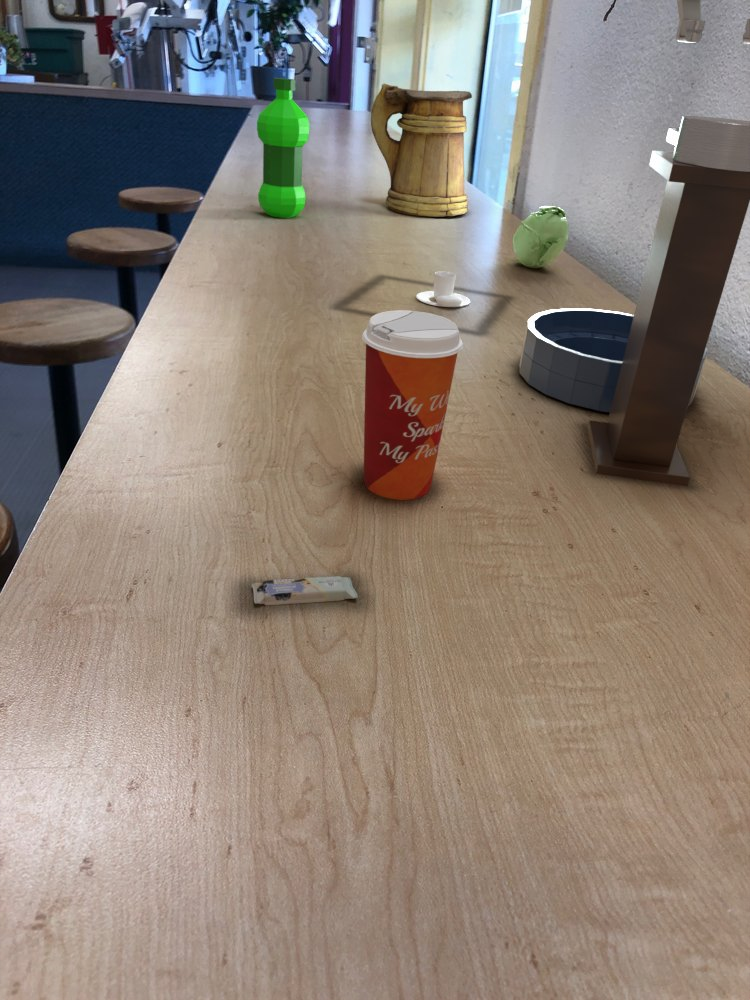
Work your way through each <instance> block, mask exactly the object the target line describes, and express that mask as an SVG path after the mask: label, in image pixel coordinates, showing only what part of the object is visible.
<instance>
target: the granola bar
mask: <svg viewBox="0 0 750 1000" xmlns="http://www.w3.org/2000/svg"><path fill="white" fill-rule="evenodd" d="M251 588H252V591H253V602H254V604H259V605H264V606H279V605H280V606H281V605H294V604H295V605H296V604H308V603H309V604H312V603H325V602H336V601H337V602H339V601H345V600H349V599H350V600H351V599H352V600H354V599H358V598H359V597H358V593H357V591H356V589H355V588H354V587H353V581H352V580H351V577H350V576H349V577H347V576H345V577H344V576H340V575H337V576H333V575H332V576H316V577H314V576H313V577H299V578H298V577H297V578H282V579H269V580H263V581H262V582H259V581H257V582H253V583H251Z"/></svg>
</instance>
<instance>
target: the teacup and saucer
mask: <svg viewBox="0 0 750 1000" xmlns="http://www.w3.org/2000/svg"><path fill="white" fill-rule="evenodd" d="M433 275H434V277H433V290H426V291H421V292H418V293H417V294H415V298H416V300H418V302H419V301H420V302H421V303H424V304H427V305H430V306H435V307H441V308H462V307H466V306H468V305H470V304H471V300H470V299H469V298H468V297H466V296H465V295H462V294H459V293H456V292H454V290H455V289H454V288H455V285H456V278H457V274H456V273H455V272H451V271H444V270H443V271H442V270H439V271H435V272H434V274H433ZM431 298H434V300H435V301H436V302H434V301H431V300H430V299H431Z"/></svg>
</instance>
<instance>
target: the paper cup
mask: <svg viewBox="0 0 750 1000" xmlns="http://www.w3.org/2000/svg"><path fill="white" fill-rule="evenodd" d="M361 338H362V341H363V342H364V343H365V372H364V373H365V375H364V376H365V377H364V422H363V423H364V425H363V426H364V427H363V429H364V430H363V483H364V486H365V487H366V488H367V489H368V490H369V491H370V492H371V493H373V494H375V495H377V496H380V497H383V498H386V499H391V500H400V501H401V500H402V501H403V500H404V501H406V500H414V499H418V498H421V497H424V496H425V495H426V494H428V492H429V491H430V490H431V486H432V482H433V478H434V473H435V468H436V464H437V460H438V454H439V449H440V444H441V440H442V434H443V429H444V425H445V419H446V415H447V410H448V409H447V408H448V404H449V399H450V395H451V389H452V383H453V379H454V373H455V368H456V363H457V359H458V353H460V352H461V351H462V350H463V348H464V343H463V340H462V338H461V337H460V330H459V328H458V325H457V324H456V323H455V322H454V321H453V320H451V319H448V318H446V317H444V316H441V315H439V314H434V313H430V312H425V311H417V310H409V309H408V310H403V309H399V310H397V309H396V310H387V311H382V312H381V311H380V312H378V313H376V314H374V315H372V316H371V317H370V319H369V320H368V324H367V328H365V329H364V331H363V333H362V335H361Z"/></svg>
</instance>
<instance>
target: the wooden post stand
mask: <svg viewBox="0 0 750 1000" xmlns="http://www.w3.org/2000/svg"><path fill="white" fill-rule="evenodd" d="M673 154H674V151H672V152H671V151H665V150H664V151H662V150H652V151H651V156H650V160H649V164H648V166H649V167H650V168H652V169H653V170H654V171H655V172H657V174H659V175H660V176H661V177H663V179H665V180H666V184H665V189H664V192H663V196H662V201H661V205H660V208H659V213H658V216H657V220H656V224H655V228H654V233H653V237H652V241H651V246H650V249H649V252H648V256H647V261H646V266H645V269H644V273H643V277H642V281H641V286H640V289H639V293H638V298H637V301H636V306H635V310H634V314H633V315H634V317H633V321H632V325H631V329H630V333H629V337H628V341H627V345H626V349H625V354H624V358H623V362H622V366H621V370H620V374H619V378H618V382H617V386H616V390H615V394H614V398H613V402H612V406H611V410H610V412H609V414H608V417H607V422H605V421H598V420H588V424H587V428H586V429H587V433H588V439H589V445H590V450H591V456H592V460H593V466H594V471H595V474H598V475H603V476H611V477H618V478H625V479H633V480H639V481H647V482H653V483H661V484H668V485H676V486H682V487H688V485H689V482H690V479H691V477H690V474H689V472H688V469H687V467H686V464H685V462H684V459H683V457H682V454H681V452H680V450H679V448H678V441H679V438H680V435H681V431H682V429H683V425H684V421H685V417H686V415H687V412H688V408H689V406H688V405H689V402H690V398H691V395H692V392H693V388H694V385H695V382H696V378H697V375H698V372H699V368H700V365H701V362H702V358H703V355H704V352H705V348H707V346H708V342H709V338H710V336H711V332H712V329H713V324H714V321H715V318H716V315H717V312H718V309H719V305H720V302H721V298H722V294H723V291H724V288H725V285H726V283H727V282H726V281H727V278H728V274H729V272H730V268H731V265H732V263H733V262H732V261H733V259H734V255H735V252H736V249H737V246H738V241H739V239H740V234H741V231H742V229H743V225H744V221H745V219H746V215H747V212H748V208H749V206H750V172H742V171H730V170H722V169H714V168H706V167H700V166H694V165H689V164H684V163H680V162H677V161H674V160H673V159H672V158H673Z"/></svg>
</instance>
